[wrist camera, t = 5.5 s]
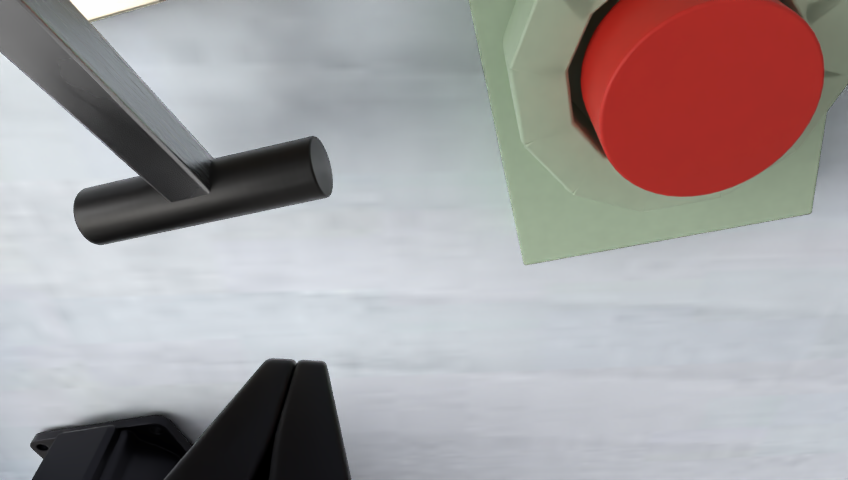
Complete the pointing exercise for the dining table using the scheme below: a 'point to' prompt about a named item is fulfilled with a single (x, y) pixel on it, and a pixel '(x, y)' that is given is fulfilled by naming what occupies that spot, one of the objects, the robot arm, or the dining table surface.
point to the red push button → (700, 90)
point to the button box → (582, 151)
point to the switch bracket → (110, 7)
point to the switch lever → (147, 136)
